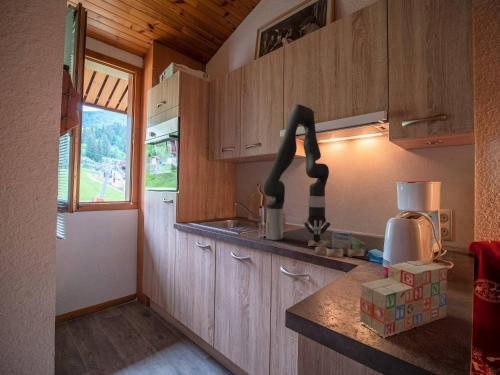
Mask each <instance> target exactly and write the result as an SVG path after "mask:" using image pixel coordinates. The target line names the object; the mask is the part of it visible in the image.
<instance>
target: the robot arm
mask: <svg viewBox="0 0 500 375" xmlns="http://www.w3.org/2000/svg"><path fill="white" fill-rule="evenodd" d="M315 123H316V122H315V114H314V111H313V109H312V108H310V107H308V106H305V105H303V104H299V103H297V104H295V105H294V106H293V107H292V109H291V110H290V112H289V115H288V119H287V124H286V128H285V130H284V134H283V138H282V141H281V142H280V145H279V148H278V151H277V154H276V156H275V160H274V162H273V165H272V167H271V170H270V172H269V174H268V176H267V178H266V180H265V182H264V186H263V193H264V194H265V196H267V197H271V199H270V201H268V202H267V203H266V222H265V237H266V240H273V241H279V240H283V238H284V237H283V234H284V233H283V231H284V230H283V229H284V228H283V227H284V226H283V225H284V224H283V223H284V219H283V218H284V215H283V214H284V213H283V212H284V210H283V209H284V208H283V207H284V204H285V198H286V197H285V193H286V188H285V183H284V182H283V181H282V180H281V177H282V175H283V174H284V173H285V171H286V170H287V169H288V168H289V167H290V166H291V164H292V163H293V162H294V159H295V156H296V153H297V148H298V147H297V146H298V145H297V139H296V136H297V130H298V127H299V125H301V126H302V127H303V130H304V134H305V135H304V139H303V143H302V146H303V151H304V155H305V158H306V159H305V173H306V175H307V177H308V178H310V179H316V181H315V182H314V183H311V184H310V185H309V195H308V196H309V198H308V216H307V219H306V220H305V221H304V222H302V224H303V225H304V227H305V228H306V229H307V230H308V232H309V233H310V234H312V241H314V242H319V241H321V235H322V234H325V232H326V231H327V229H328V228H329V227H330V226H331V223H330V222H329V221H328V220H327V219H326V186H327V184H328V183H327V181H328V179H329V175H330V169H329V166H328V165H327V164H325V163H320V162H319V163H317V162H316V161H318V160H320V159H321V158H322V154H321V150H320V146H319V144H318V138H317V133H316V124H315ZM310 226H311V227H310Z"/></svg>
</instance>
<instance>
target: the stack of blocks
mask: <svg viewBox="0 0 500 375" xmlns="http://www.w3.org/2000/svg"><path fill="white" fill-rule="evenodd" d="M387 272H388V273H387V274H388V276H387V278H382V279H377V280H372V281H368V282H363V283H361V284H360V299H359V301H360V304H359V307H360V308H359V309H360V312H359V315H360V317H359V322H360V321H361V322H363V323H365V324H366V325H368V326H370V327H371V328H373V329H374V330H376V331H377V332H379V333H381V334H383V335H385V334H388V333H391V332H395V331H398V330H401V329H404V328H405V327H406V328H407V327H408V326H411V325H414V324H417V323H419V322H424V321H427V320H431V319H433V318H436V317H440V316H443V315H446V316H447V293H448V279H447V278H448V267H447V266H445V265H441V264H437V263H433V262H430V261H426V260H422V259H417V260H416V261H407V262H403V263H398V264H394V265H390V264H389V265H388V271H387Z"/></svg>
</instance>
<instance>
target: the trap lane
mask: <svg viewBox="0 0 500 375" xmlns="http://www.w3.org/2000/svg"><path fill="white" fill-rule="evenodd" d="M307 246H317V247H315V255H321V256H322V255H325V256H327V257H329V258H330V257H331V258H334V257H335V258H336V257H337V258H338V257H340V258H342V257H344V255H343V254H346V255H345V256H347V257H350V258H352V256H364V257H365V255H366V243H365V242H363V241H361V240H359V238H356V237H353V236H351V249H348V248H346V247H339V249H332V240H320V241H319V242H314V240H308V245H307ZM330 248H331V249H330ZM364 254H365V255H364Z"/></svg>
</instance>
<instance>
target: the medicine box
mask: <svg viewBox="0 0 500 375" xmlns="http://www.w3.org/2000/svg"><path fill="white" fill-rule="evenodd" d="M351 237H352V232H348V231H347V232H346V231H336V230H334V231H332V237H331V238H332V240H331V241H332V247H331V249H339V247H346V248H348V249H352V247H351Z"/></svg>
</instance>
